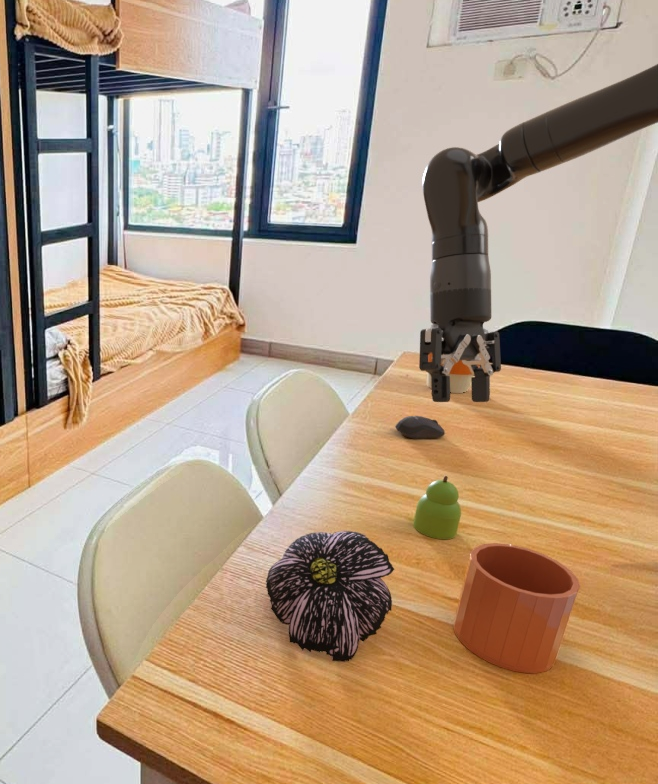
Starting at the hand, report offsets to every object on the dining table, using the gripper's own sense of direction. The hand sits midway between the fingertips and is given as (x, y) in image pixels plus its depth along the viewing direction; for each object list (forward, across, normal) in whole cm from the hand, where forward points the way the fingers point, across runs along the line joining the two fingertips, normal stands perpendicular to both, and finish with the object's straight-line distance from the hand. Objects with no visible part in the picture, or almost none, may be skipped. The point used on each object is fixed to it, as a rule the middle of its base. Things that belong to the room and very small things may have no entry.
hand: (461, 402), depth 90 cm
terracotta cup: (+28, -12, -13) cm, 33 cm away
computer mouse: (+7, +29, +29) cm, 42 cm away
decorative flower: (+27, -29, -2) cm, 40 cm away
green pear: (+19, +1, +5) cm, 20 cm away
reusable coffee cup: (-3, +60, +45) cm, 76 cm away
